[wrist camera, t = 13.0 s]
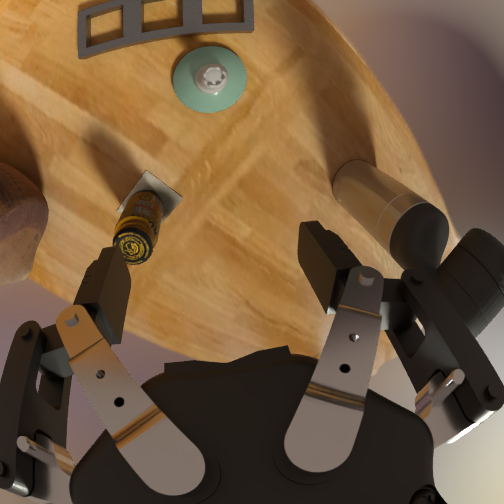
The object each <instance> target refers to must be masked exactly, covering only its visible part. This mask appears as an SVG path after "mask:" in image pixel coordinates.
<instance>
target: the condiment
mask: <svg viewBox="0 0 504 504" xmlns="http://www.w3.org/2000/svg"><path fill="white" fill-rule="evenodd" d="M182 199H183V198H182V197H181V196H179V195H178V194H177V193H176V192H174V191H173V190H172V189H171V188H169V187H168V186H167V185H165V184H164V183H163V182H162V181H160V180H159V179H157V178H156V177H155V176H153V175H152V174H150V173H149V172H148V171H146V172H145V173H144V174H143V176H142V177H141V178H140V180H139V181H138V182H137V184H136V185H135V186H134V188H133V189H132V190H131V192H130V193H129V194H128V196H127V197H126V199H125V200H124V201H123V203H122V204H121V206H120V207H119V209H118V210H117V212H119V213H120V214H122V215H121V216H120V219H119V221H118V223H117V225H116V227H115V233H114V235H115V236H114V239H113V246H120V248H121V250H122V253H123V256H124V259H125V262H126V264H130V265H136V264H141V263H143V262H145V261H147V260H148V258H149V257H150V256H151V254H152V252H153V250H152V249H153V248H154V246H155V245H156V243H157V240H158V235H159V229H160V225H161V223H162V222H163V221H164V220H165V219H166V218H167V216H168V215H169V214H170V213H171V212H172V211H173V209H174V208H175V207H176V206H177V205H178V204H179V203H180V202H181V200H182Z"/></svg>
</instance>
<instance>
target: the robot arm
mask: <svg viewBox="0 0 504 504" xmlns="http://www.w3.org/2000/svg"><path fill="white" fill-rule="evenodd" d="M333 194H334V197H335V199H336V200H337V202H338V203H339V204H340V205H341V206H342V207H343V208H344V209H345V210H347V211H348V213H349V214H351V215H352V216H353V217H354V218H355V219H356V220H357V221H358V222H359V223H360V224H361V225H362V226H363V227H364V228H365V229H366V230H367V231H368V232H369V233H370V234H371V235H372V236H373V238H374V239H375V240H376V241H377V242H378V243H379V244H380V245H381V246H382V247H383V248H384V249H385V250H386V251H387V252H388V253H389V254H390V255H391V257H392V258H393V259H394V260H395V261H396V262H397V263H398V264H399V265H400V266H401V267H402V268H403V269H404V270H405V271H403V273H402V275H401V278H400V279H388V278H383V275H382V274H381V273H380V272H379V271H378V270H376V269H374V268H372V267H369V266H363V265H362V264H361V263H360V262H359V260H358V259H357V258H356V257H355V255H354V254H353V253H352V252H351V250H350V249H348V247H347V245H346V244H345V243H344V242H343V241H342V239H341V238H340V237H339V236H338V235H337V234H335V233H334V232H332V231H330V230H325V229H324V228H323V226H322V225H321V224H320V223H319V222H318V221H317V220H316V221H307V222H301V223H300V226H299V239H298V260H299V263H300V266H301V267H302V269H303V271H304V273H305V275H306V277H307V279H308V280H309V282H310V284H311V286H312V288H313V290H314V292H315V294H316V295H317V297H318V299H319V301H320V303H321V305H322V307H323V309H324V311H325V313H326V315H329V314H334V313H336V314H335V317H334V320H333V323H332V326H331V329H330V332H329V335H328V337H327V340H326V343H325V345H324V348H323V351H322V353H321V356H320V359H319V360H318V359H316V358H313V357H310V356H306V355H300V354H291V353H290V351H289V348H288V345H287V346H282V347H277V348H272V349H266V350H261V351H257V352H254V353H252V354H249V355H247V356H244V357H242V358H239V359H237V360H234V361H231V362H228V363H219V362H207V361H196V360H192V361H184V362H173V363H164V373H161V374H159V375H156V376H154V377H152V378H151V379H149V380H148V381H146V382H145V383H143V384H142V385H141V386H139V385H138V383H137V382H136V381H135V380H134V378H133V377H132V376H131V374H130V373H129V372H128V371H127V369H126V368H125V367H124V365H123V364H122V363H121V361H120V360H119V359H118V357H117V356H116V354H115V353H114V352H113V350H112V349H111V344H120V343H121V339H122V332H123V327H124V321H125V315H126V309H127V304H128V299H129V294H130V289H131V277H130V273H129V270H128V268H127V265H126V262H125V259H124V256H123V253H122V250H121V248H120V246H113V247H106V248H103V249H102V251H101V253H100V256H99V258H98V260H94V261H93V263H92V264H91V265H90V266H89V267H88V268H87V270H86V273H85V275H84V278H83V280H82V282H81V283H82V284H81V285H80V287H79V290H78V293H77V295H76V298H75V300H74V303H73V305H72V306H69V307H67V308H65V309H64V310H63V311H62V312H61V313H60V314H59V315H58V317H57V320H56V324H54V325H51V326H48V327H46V328H43V329H42V328H41V327H40V326H39V324H38V323H37V322H36V321H27V322H25V323H24V324H22V325H21V326H20V327H19V328H18V330H17V331H16V333H15V336H14V339H13V342H12V345H11V347H10V350H9V354H8V357H7V360H6V364H5V367H4V371H3V375H2V378H1V382H0V488H2V489H4V490H7V491H9V492H12V493H14V494H16V495H18V496H19V497H22V498H25V499H28V500H31V501H34V502H37V503H41V504H447V503H446V502H445V501H444V499H443V498H442V497H441V495H440V494H439V493H438V491H437V489H436V487H435V484H434V478H433V452H434V449H435V448H436V447H439V446H440V445H442V444H444V443H447V444H448V443H452V442H454V441H456V440H457V439H459V438H460V437H462V436H463V435H465V434H466V433H468V432H469V431H471V430H472V429H474V428H475V427H477V426H478V425H479V424H481V423H482V422H483V421H485V420H486V419H487V418H489V417H490V416H491V415H492V414H494V413H495V412H496V411H498V410H499V409H500V408H501V407H502V405H503V404H504V385H503V383H502V381H501V380H500V378H499V376H498V374H497V373H496V371H495V369H494V368H493V366H492V364H491V363H490V361H489V360H488V358H487V356H486V354H485V353H484V351H483V350H482V348H481V347H480V345H479V344H478V342H477V341H476V339H475V338H476V337H477V336H478V335H479V334H480V333H481V332H482V331H483V330H484V329H485V327H486V326H487V325H488V324H489V323H490V322H491V321H492V319H493V318H494V317H495V316H496V315H497V314H498V312H499V311H500V310H501V309H502V308H503V307H504V245H502V243H501V242H499V241H498V240H497V239H496V238H495V237H493V236H492V235H491V234H489V233H488V232H486V231H484V230H482V229H478V228H473V229H471V230H469V231H468V232H467V233H466V235H465V236H464V237H463V238H462V239H461V240H460V242H459V243H458V244H457V246H456V247H455V248H454V249H453V250H452V252H451V253H450V254H449V255H448V256H447V258H446V259H445V260H444V261H443V262H442V264H441V265H440V262H441V258H442V255H443V252H444V250H445V247H446V244H447V241H448V237H449V223H448V220H447V218H446V216H445V215H444V214H443V213H442V212H441V211H440V210H439V209H438V208H436V207H435V206H433V205H432V204H431V203H429V202H428V201H427V200H425V199H424V198H422V197H421V196H419V195H418V194H416V193H415V192H413V191H412V190H410V189H409V188H408V187H406V186H405V185H403V184H402V183H400V182H399V181H397V180H395V179H394V178H392V177H391V176H389V175H387V174H386V173H384V172H383V171H381V170H379V169H378V168H376V167H374V166H372V165H370V164H369V163H367V162H365V161H362V160H354V161H350V162H348V163H346V164H345V165H344V166H342V167H341V169H340V170H339V171H338V172H337V174H336V176H335V178H334V182H333ZM416 318H418V319H419V321H420V322H421V324H422V325H423V327H424V330H425V336H424V335H423V333H422V331H421V329H420V328H419V326H418V325H417V323H416V322H415V320H416ZM380 330H385V332H386V334H387V336H388V338H389V340H390V341H391V343H392V345H393V347H394V349H395V351H396V353H397V355H398V356H399V358H400V360H401V362H402V364H403V366H404V368H405V370H406V372H407V374H408V376H409V378H410V380H411V382H412V384H413V386H414V388H415V390H416V393H417V396H416V399H415V407H416V410H415V413H413V412H411V411H409V410H407V409H406V408H404V407H401V406H400V405H398V404H396V403H394V402H392V401H391V400H389V399H387V398H385V397H383V396H381V395H379V394H378V393H376V392H374V391H372V390H370V389H368V385H369V381H370V377H371V373H372V369H373V364H374V359H375V355H376V350H377V345H378V339H379V334H380ZM38 371H39V372H40V373H41V374H42V375H41V380H40V385H39V391H38V393H37V390H36V379H37V374H38ZM73 374H75V376H76V378H77V380H78V382H79V384H80V386H81V388H82V389H83V391H84V393H85V395H86V396H87V398H88V400H89V402H90V403H91V405H92V407H93V408H94V410H95V412H96V413H97V415H98V416H99V418H100V420H101V421H102V423H103V424H104V426H105V427H106V429H105V430H104V431H103V433H102V434H101V435H100V436H99V438H98V439H97V440H96V441H95V443H94V444H93V445H92V446H91V448H90V449H89V450H88V451H87V453H86V454H85V455H84V456H83V458H82V459H81V460H80V461H79V463H78V464H77V465H76V466H75V464H74V463H73V460H72V457H71V455H70V454H69V452H68V451H67V450H66V436H67V417H68V405H69V395H70V387H71V380H72V375H73Z"/></svg>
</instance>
